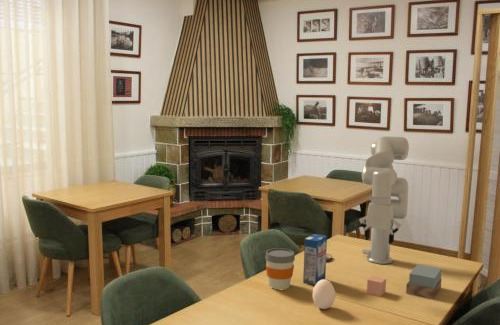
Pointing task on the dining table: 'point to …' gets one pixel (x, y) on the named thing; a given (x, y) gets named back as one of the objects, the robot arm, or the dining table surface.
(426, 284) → the slate top block
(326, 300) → the egg
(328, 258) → the burger
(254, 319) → the dining table surface
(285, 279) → the reusable coffee cup
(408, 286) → the walnut base block
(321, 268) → the milk carton
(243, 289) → the dining table surface
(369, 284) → the terracotta block
